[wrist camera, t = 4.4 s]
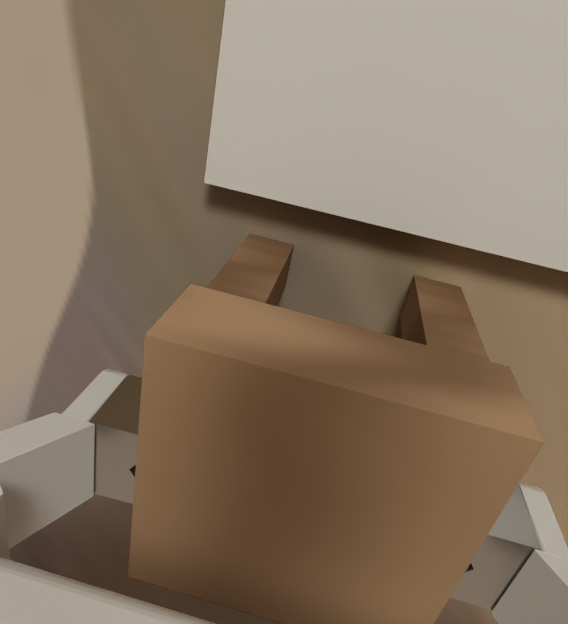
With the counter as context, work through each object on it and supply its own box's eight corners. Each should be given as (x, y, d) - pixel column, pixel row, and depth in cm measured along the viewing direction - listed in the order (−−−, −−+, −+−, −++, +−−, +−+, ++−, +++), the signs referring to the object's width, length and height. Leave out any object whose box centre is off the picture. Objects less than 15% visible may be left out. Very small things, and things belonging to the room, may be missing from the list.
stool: (471, 282, 12) (543, 442, 7) (398, 454, 15) (410, 662, 10) (243, 225, 13) (145, 335, 7) (214, 403, 15) (127, 576, 10)
